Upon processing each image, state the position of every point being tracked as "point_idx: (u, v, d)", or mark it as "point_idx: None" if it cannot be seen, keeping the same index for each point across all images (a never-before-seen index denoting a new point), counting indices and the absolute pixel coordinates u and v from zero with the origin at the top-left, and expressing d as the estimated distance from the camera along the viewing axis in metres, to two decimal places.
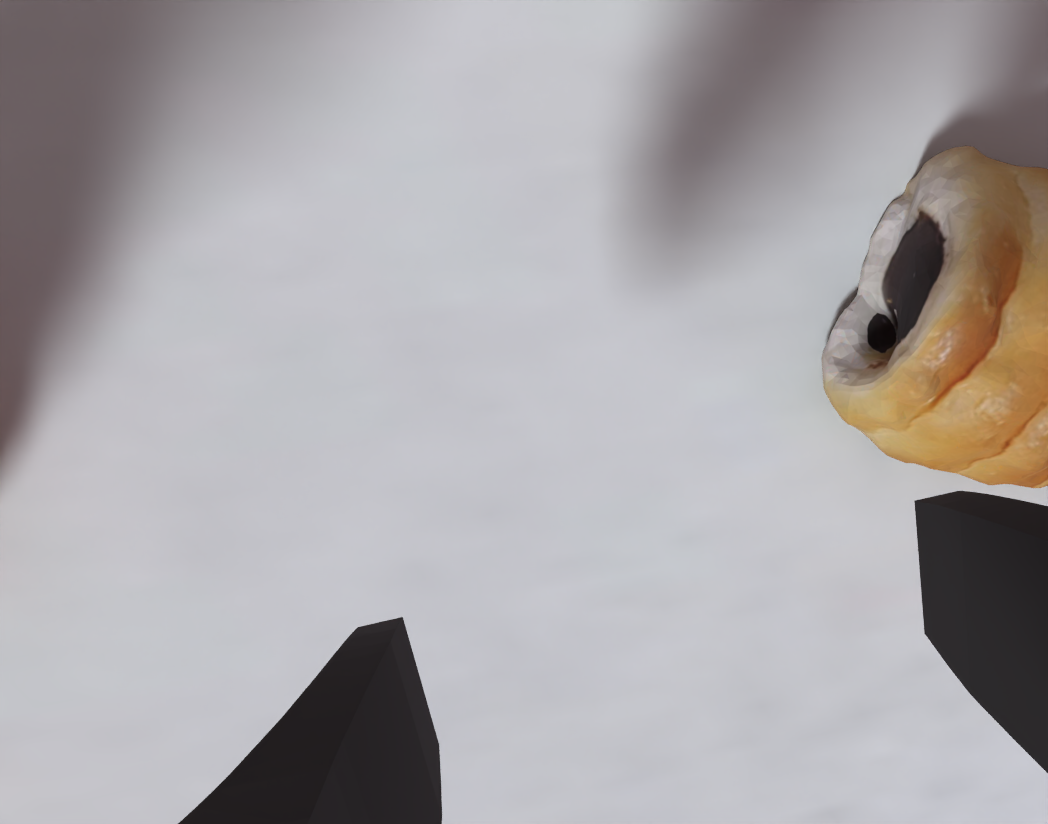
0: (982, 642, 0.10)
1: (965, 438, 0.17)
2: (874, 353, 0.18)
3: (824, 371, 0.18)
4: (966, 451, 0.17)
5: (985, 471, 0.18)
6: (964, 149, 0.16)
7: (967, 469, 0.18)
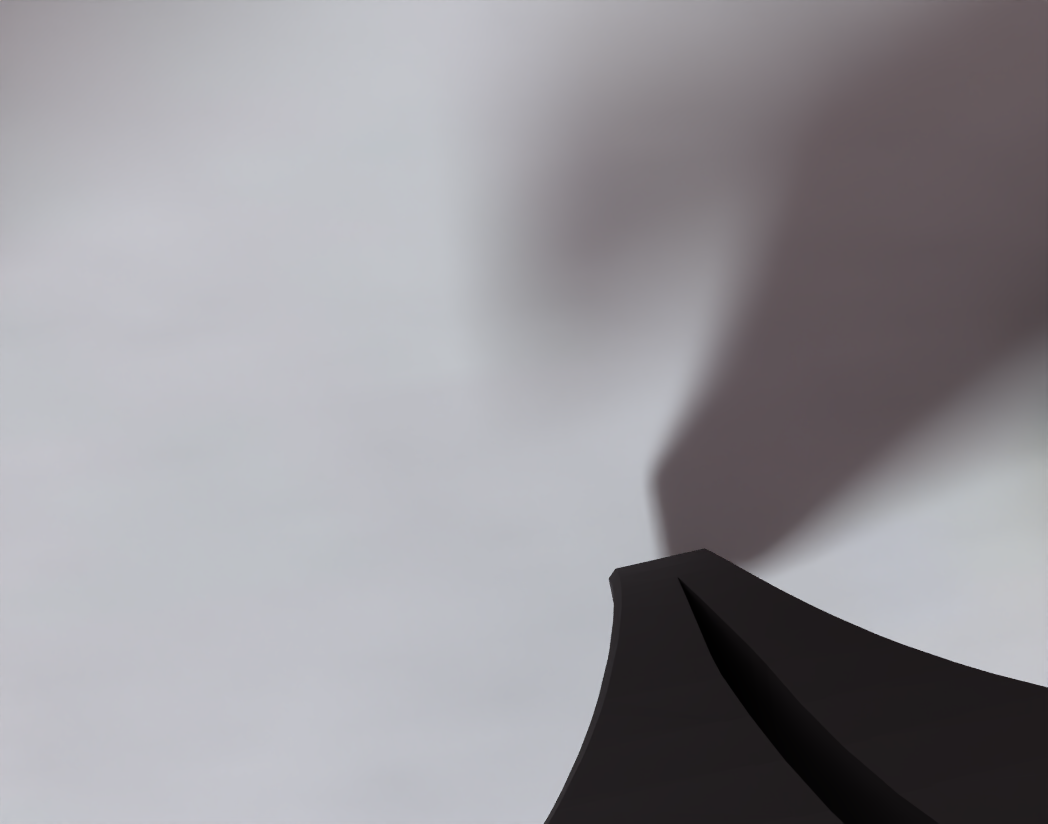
0: None
1: None
2: None
3: None
4: None
5: None
6: None
7: None
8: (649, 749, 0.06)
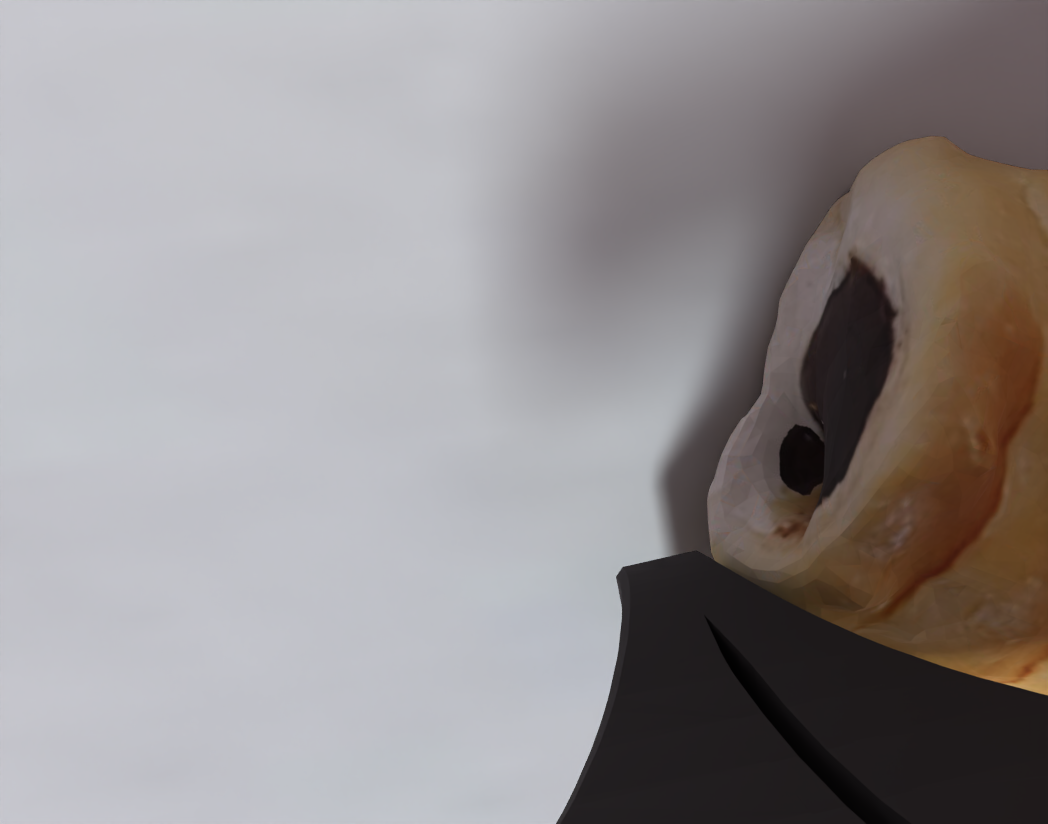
0: None
1: (950, 660, 0.09)
2: (790, 497, 0.10)
3: (709, 526, 0.11)
4: None
5: None
6: (926, 141, 0.09)
7: None
8: (661, 746, 0.06)
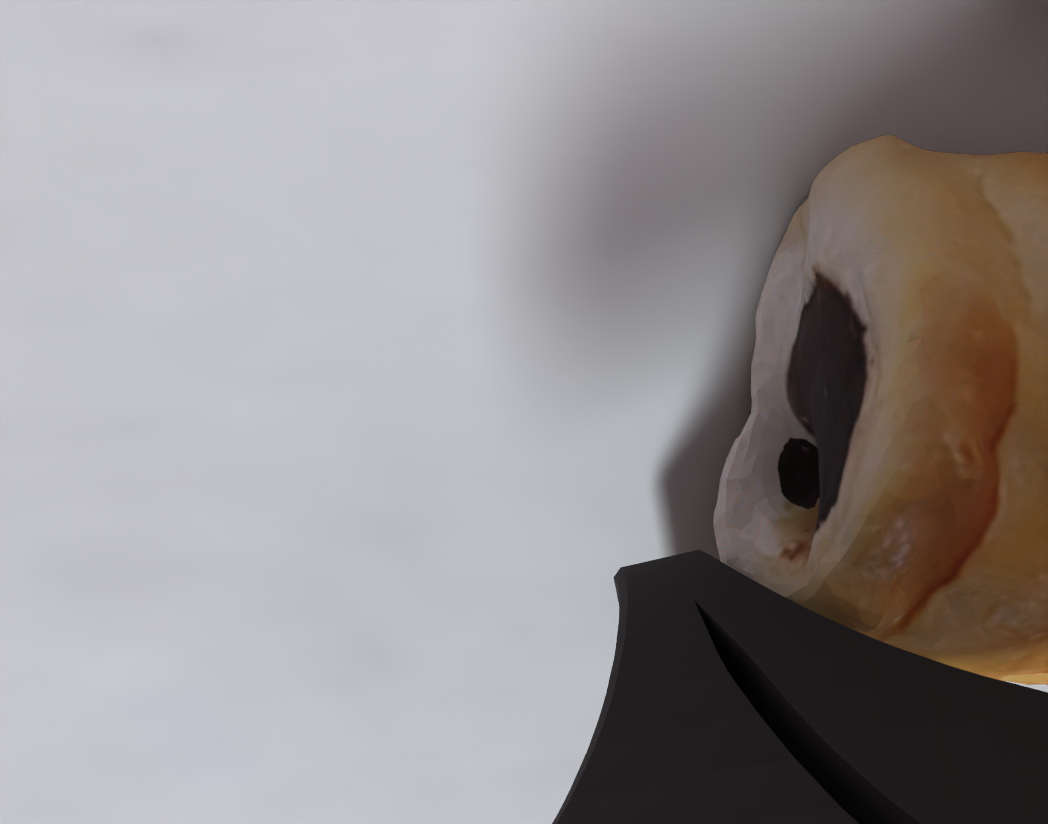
0: None
1: (977, 661, 0.09)
2: (795, 513, 0.10)
3: (718, 551, 0.11)
4: (986, 676, 0.09)
5: (1027, 680, 0.10)
6: (875, 145, 0.09)
7: None
8: (657, 748, 0.06)
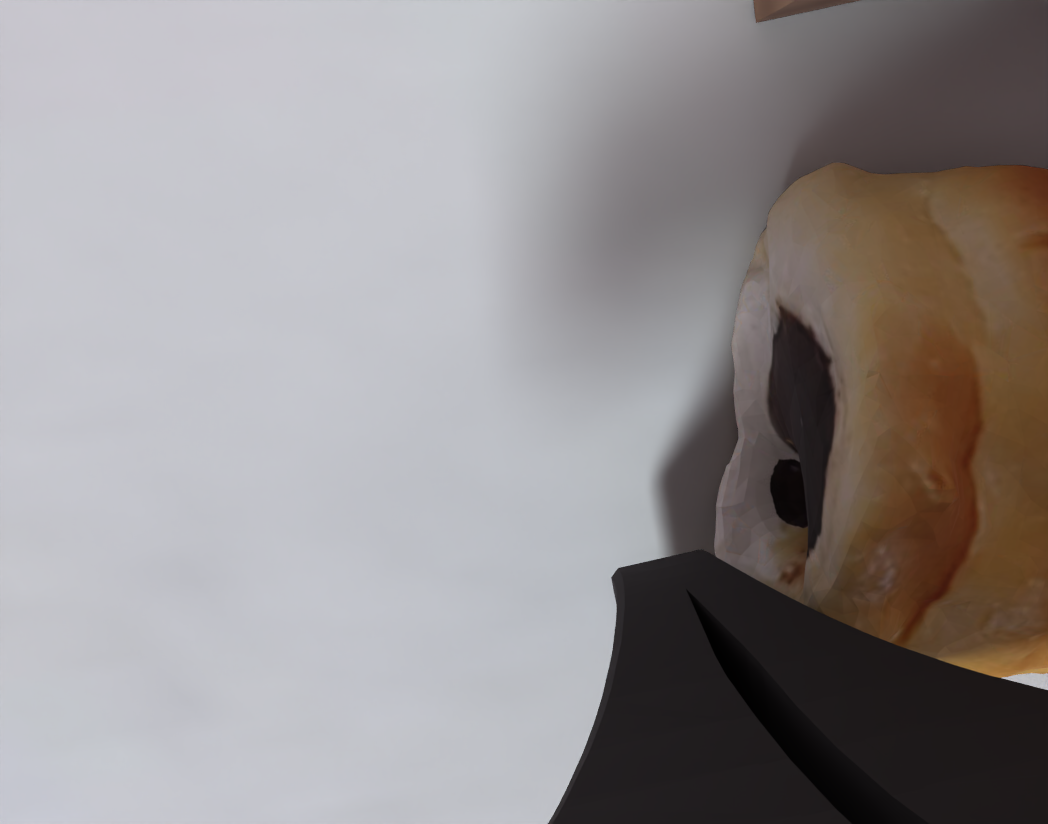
0: None
1: (982, 663, 0.09)
2: (791, 534, 0.10)
3: None
4: (993, 675, 0.09)
5: (1039, 672, 0.10)
6: (822, 175, 0.09)
7: (1007, 676, 0.10)
8: (653, 749, 0.06)
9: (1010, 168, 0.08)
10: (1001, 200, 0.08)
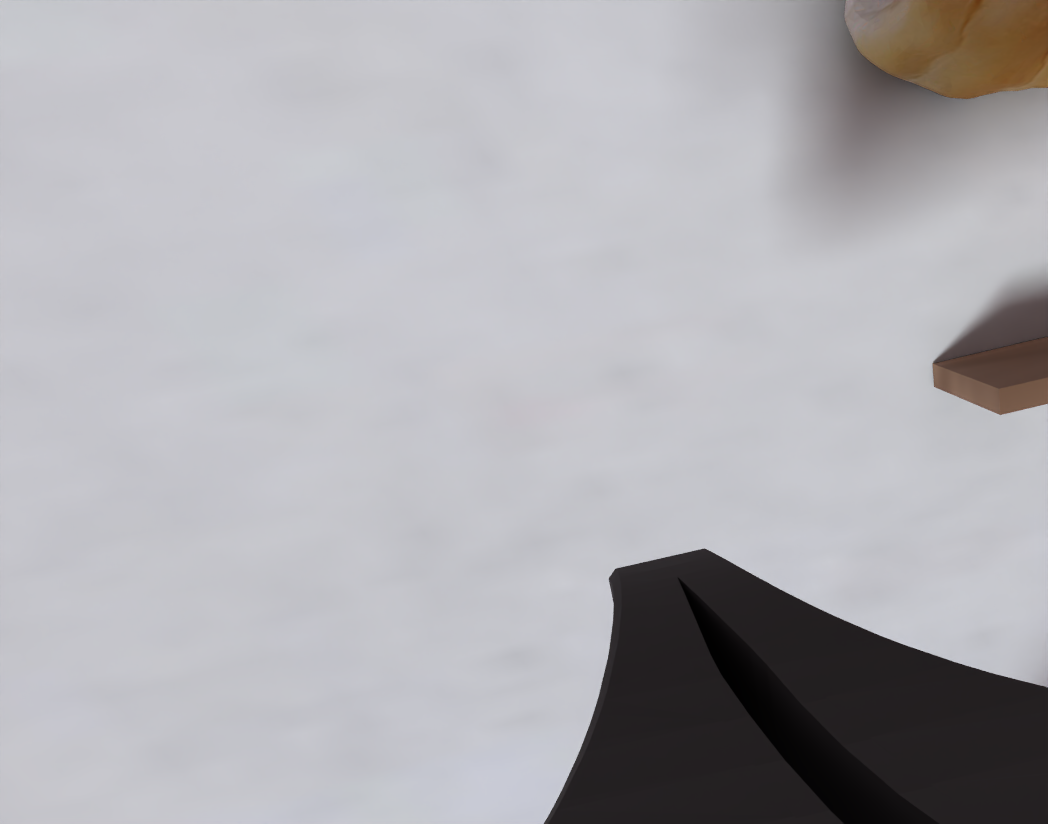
0: None
1: (1027, 25, 0.15)
2: None
3: (852, 31, 0.17)
4: (1034, 39, 0.15)
5: None
6: None
7: (1042, 68, 0.16)
8: (649, 751, 0.06)
9: None
10: None
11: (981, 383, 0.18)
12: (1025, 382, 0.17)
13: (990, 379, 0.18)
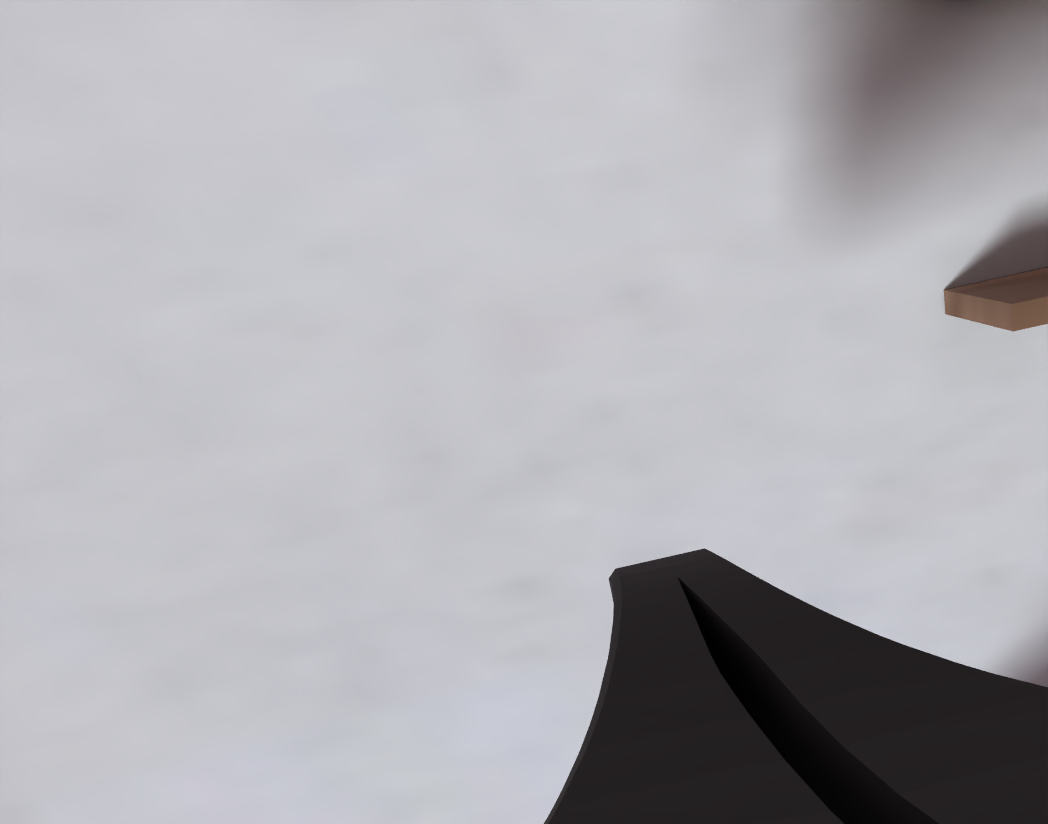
0: None
1: None
2: None
3: None
4: None
5: None
6: None
7: None
8: (649, 750, 0.06)
9: None
10: None
11: (994, 301, 0.18)
12: (1038, 298, 0.17)
13: (1003, 297, 0.18)
